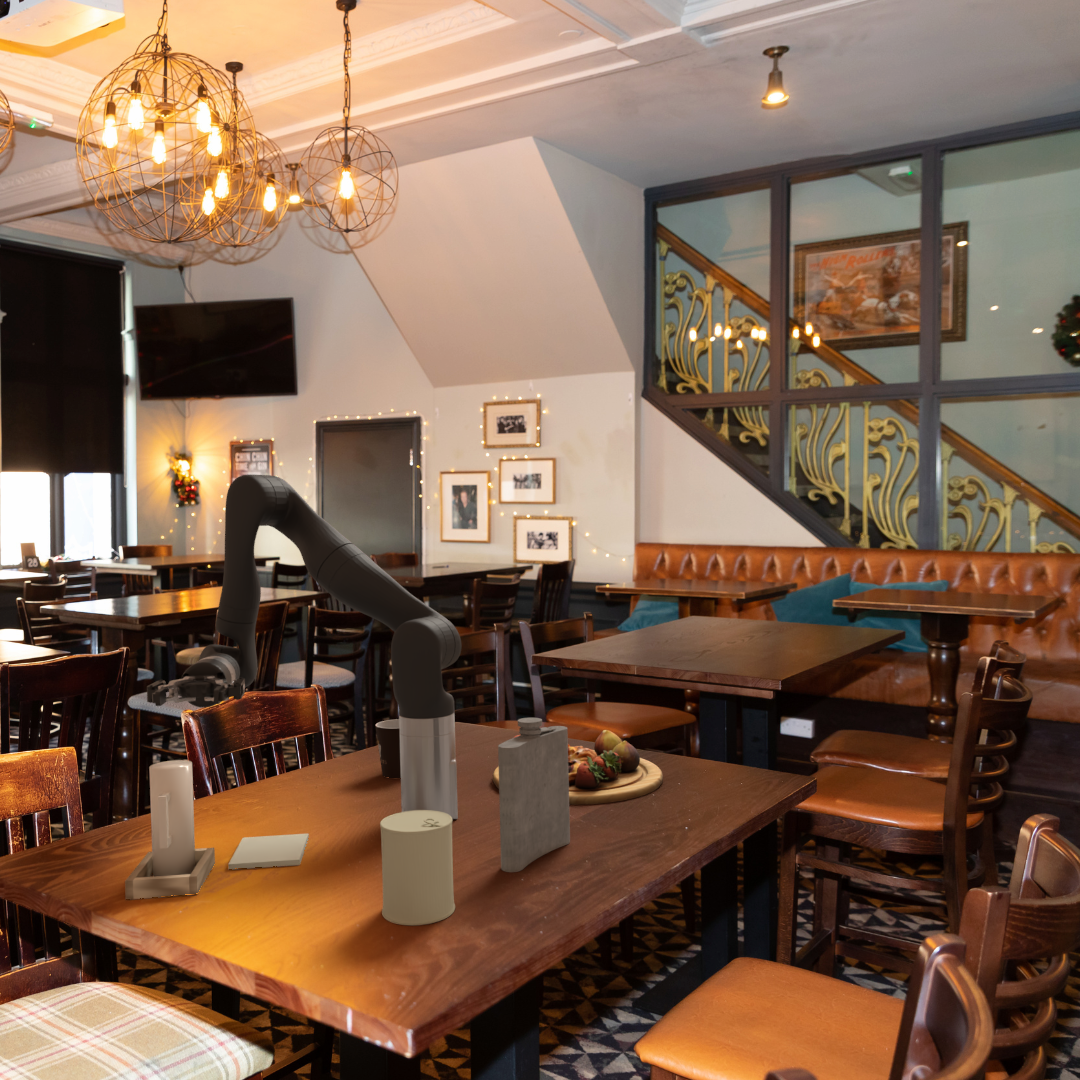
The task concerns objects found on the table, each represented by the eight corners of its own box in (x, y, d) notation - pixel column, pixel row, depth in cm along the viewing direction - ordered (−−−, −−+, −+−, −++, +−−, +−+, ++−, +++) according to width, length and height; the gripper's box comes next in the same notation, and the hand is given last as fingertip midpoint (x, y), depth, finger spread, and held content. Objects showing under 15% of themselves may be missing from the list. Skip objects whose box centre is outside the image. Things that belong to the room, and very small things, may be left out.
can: (424, 931, 118) (421, 832, 117) (366, 916, 123) (364, 821, 122) (469, 905, 125) (467, 812, 125) (413, 892, 130) (411, 802, 130)
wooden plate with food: (458, 783, 186) (457, 739, 185) (578, 751, 207) (577, 712, 207) (576, 822, 162) (575, 773, 162) (697, 782, 183) (697, 738, 183)
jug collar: (214, 864, 143) (214, 847, 143) (197, 894, 131) (196, 876, 131) (149, 868, 141) (148, 851, 141) (125, 899, 130) (125, 881, 130)
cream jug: (199, 869, 141) (195, 759, 140) (186, 890, 133) (182, 773, 132) (158, 872, 140) (155, 761, 140) (143, 893, 132) (139, 775, 132)
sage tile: (308, 838, 154) (308, 833, 154) (299, 865, 142) (299, 859, 142) (243, 842, 152) (242, 837, 152) (228, 869, 140) (228, 864, 140)
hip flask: (515, 873, 136) (511, 730, 136) (491, 868, 138) (488, 728, 138) (573, 840, 150) (570, 710, 149) (551, 836, 152) (548, 708, 151)
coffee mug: (412, 781, 186) (411, 728, 186) (370, 779, 188) (368, 727, 188) (431, 765, 198) (430, 716, 198) (391, 764, 200) (389, 715, 199)
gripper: (164, 659, 163) (137, 675, 147) (252, 657, 165) (235, 672, 149) (165, 704, 163) (138, 724, 147) (253, 701, 165) (236, 721, 149)
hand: (187, 698), depth 148 cm, fingers open, 8 cm apart
